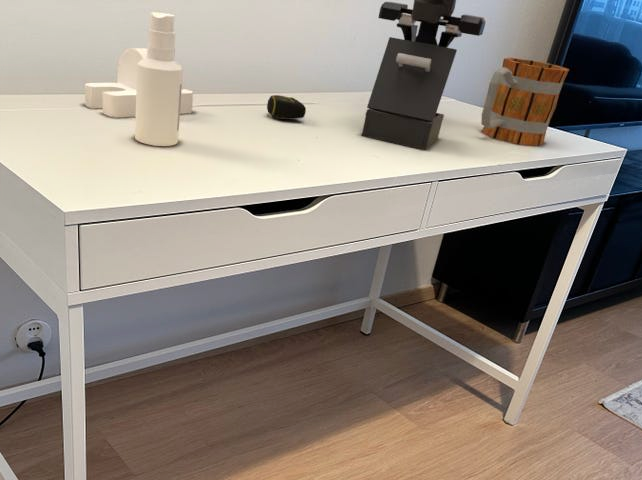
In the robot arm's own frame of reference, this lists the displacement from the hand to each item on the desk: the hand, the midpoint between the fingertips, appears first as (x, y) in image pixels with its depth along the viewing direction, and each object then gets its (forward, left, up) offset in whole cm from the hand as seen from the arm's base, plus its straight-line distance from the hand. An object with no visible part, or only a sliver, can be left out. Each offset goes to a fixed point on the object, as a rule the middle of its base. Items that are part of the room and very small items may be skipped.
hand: (419, 68), depth 126 cm
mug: (-22, +16, -13) cm, 30 cm away
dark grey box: (+3, 0, -12) cm, 13 cm away
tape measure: (+11, -21, -13) cm, 27 cm away
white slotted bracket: (+33, -41, -13) cm, 54 cm away
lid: (+6, +1, -1) cm, 6 cm away
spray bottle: (+48, -25, -13) cm, 56 cm away
